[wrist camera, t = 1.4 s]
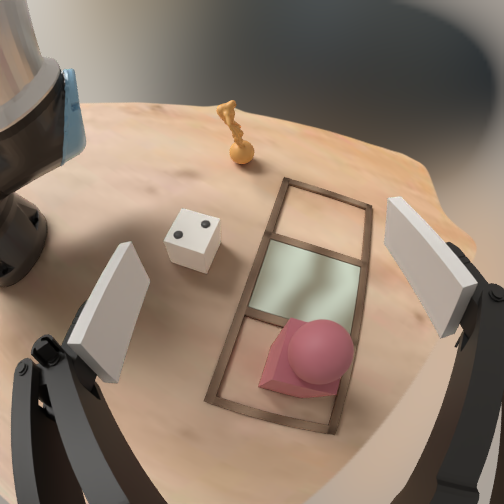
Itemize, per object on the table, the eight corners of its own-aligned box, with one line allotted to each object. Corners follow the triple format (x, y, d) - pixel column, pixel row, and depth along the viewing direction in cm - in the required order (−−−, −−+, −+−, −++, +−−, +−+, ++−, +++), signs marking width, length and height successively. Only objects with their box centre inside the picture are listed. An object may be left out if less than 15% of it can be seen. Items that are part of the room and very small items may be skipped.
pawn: (258, 386, 28) (282, 373, 15) (271, 345, 30) (303, 298, 17) (301, 398, 27) (359, 391, 14) (312, 357, 30) (372, 318, 17)
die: (170, 261, 35) (163, 240, 30) (186, 231, 37) (181, 207, 33) (206, 274, 34) (203, 253, 30) (221, 241, 37) (220, 218, 33)
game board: (204, 401, 27) (203, 401, 26) (283, 178, 44) (284, 177, 43) (334, 434, 25) (335, 434, 25) (371, 207, 42) (372, 205, 42)
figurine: (259, 176, 44) (267, 113, 33) (221, 181, 42) (221, 116, 32) (247, 145, 47) (252, 86, 37) (213, 148, 46) (212, 89, 36)
